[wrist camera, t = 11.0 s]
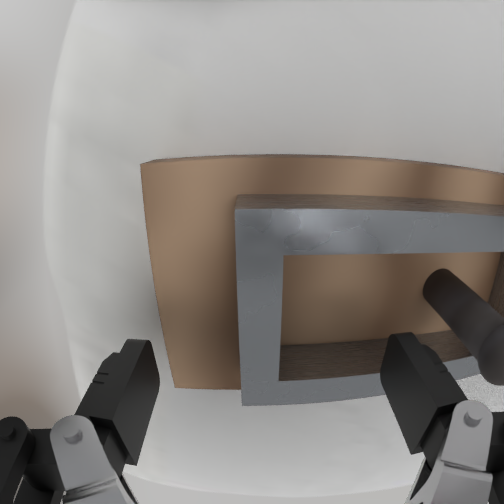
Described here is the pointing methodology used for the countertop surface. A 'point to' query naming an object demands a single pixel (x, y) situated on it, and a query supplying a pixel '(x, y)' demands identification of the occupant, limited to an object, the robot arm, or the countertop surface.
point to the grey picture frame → (333, 243)
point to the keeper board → (310, 262)
